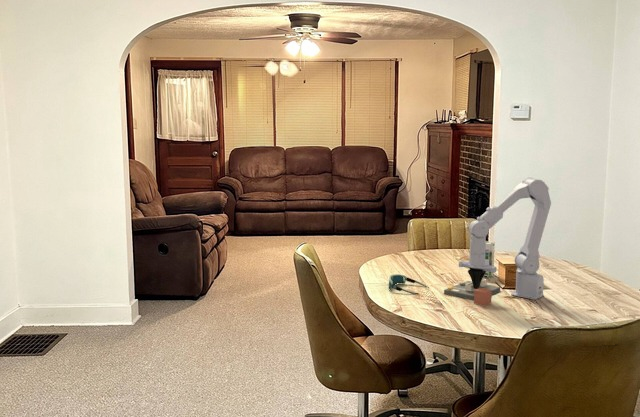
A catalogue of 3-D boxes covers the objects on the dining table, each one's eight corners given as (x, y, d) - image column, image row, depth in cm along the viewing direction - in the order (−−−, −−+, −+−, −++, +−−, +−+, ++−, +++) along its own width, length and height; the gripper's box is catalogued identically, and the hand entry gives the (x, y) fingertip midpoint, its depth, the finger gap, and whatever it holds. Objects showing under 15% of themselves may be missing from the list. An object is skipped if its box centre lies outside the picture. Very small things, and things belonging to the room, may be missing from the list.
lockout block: (491, 303, 220) (491, 289, 220) (485, 306, 217) (485, 292, 216) (480, 301, 223) (480, 287, 223) (474, 303, 220) (474, 290, 219)
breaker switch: (486, 285, 238) (486, 278, 237) (482, 286, 236) (482, 279, 235) (480, 284, 239) (481, 277, 239) (477, 285, 237) (477, 278, 237)
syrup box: (477, 276, 259) (478, 242, 257) (480, 273, 264) (481, 240, 262) (490, 277, 257) (492, 243, 255) (493, 274, 262) (495, 241, 260)
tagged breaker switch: (475, 289, 231) (475, 282, 231) (471, 291, 229) (471, 284, 229) (469, 288, 233) (469, 281, 233) (465, 290, 231) (465, 283, 230)
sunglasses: (396, 282, 250) (398, 271, 249) (430, 292, 243) (432, 280, 242) (381, 290, 238) (383, 278, 237) (417, 301, 231) (419, 288, 230)
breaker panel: (500, 290, 236) (500, 284, 236) (477, 300, 223) (477, 294, 223) (467, 284, 246) (468, 278, 245) (444, 293, 233) (444, 287, 232)
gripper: (454, 251, 229) (453, 286, 231) (490, 257, 219) (489, 294, 221) (464, 248, 234) (463, 283, 236) (499, 254, 225) (498, 290, 226)
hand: (476, 288), depth 229 cm, fingers closed
